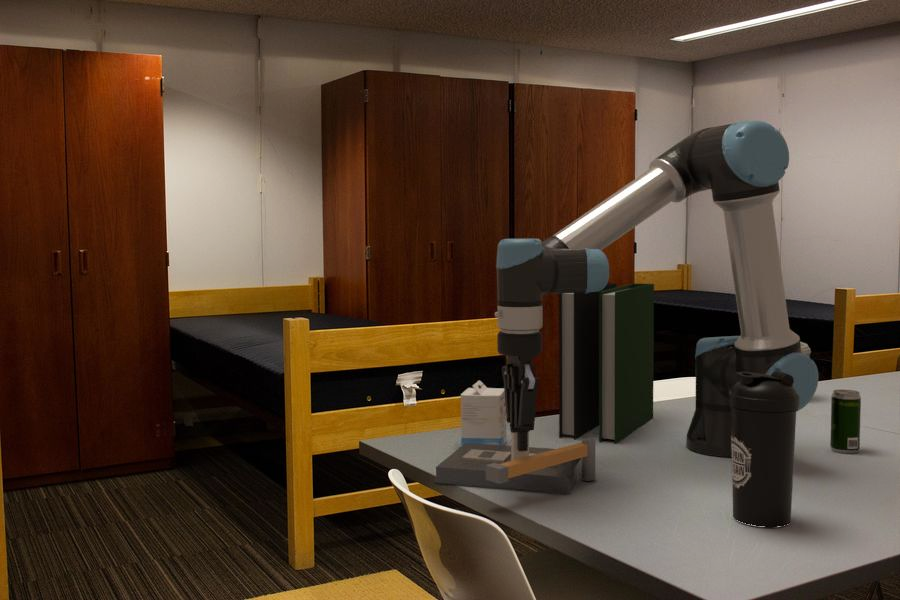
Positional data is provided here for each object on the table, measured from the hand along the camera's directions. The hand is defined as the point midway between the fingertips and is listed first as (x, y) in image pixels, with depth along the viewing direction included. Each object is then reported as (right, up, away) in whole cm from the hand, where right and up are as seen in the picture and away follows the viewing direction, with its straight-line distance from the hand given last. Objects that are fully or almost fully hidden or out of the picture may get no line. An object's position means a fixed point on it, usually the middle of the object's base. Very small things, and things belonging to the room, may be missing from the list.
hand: (520, 467), depth 147 cm
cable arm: (+4, -4, +1) cm, 6 cm away
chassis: (0, -4, +13) cm, 14 cm away
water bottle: (+37, -6, -13) cm, 39 cm away
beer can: (+67, -2, +26) cm, 72 cm away
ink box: (-5, -2, +34) cm, 35 cm away
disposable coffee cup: (+75, +2, +76) cm, 107 cm away
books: (+23, -1, +49) cm, 55 cm away
